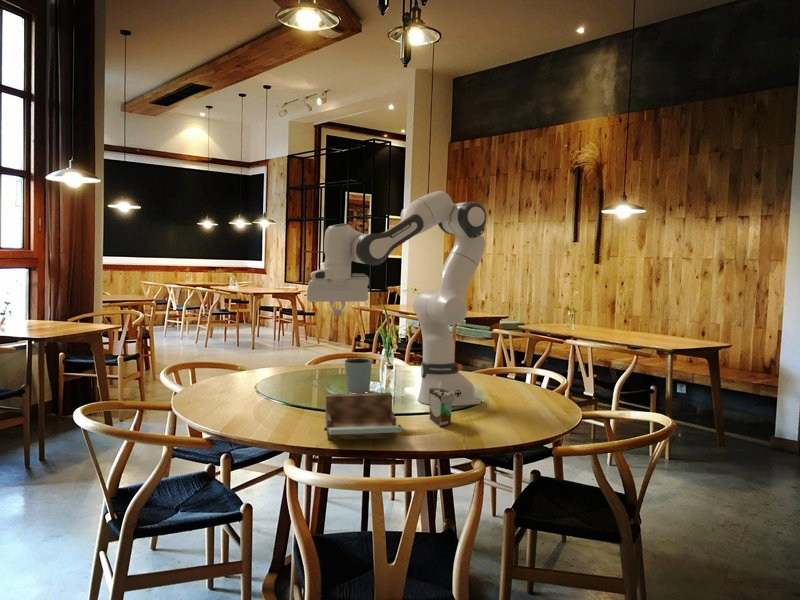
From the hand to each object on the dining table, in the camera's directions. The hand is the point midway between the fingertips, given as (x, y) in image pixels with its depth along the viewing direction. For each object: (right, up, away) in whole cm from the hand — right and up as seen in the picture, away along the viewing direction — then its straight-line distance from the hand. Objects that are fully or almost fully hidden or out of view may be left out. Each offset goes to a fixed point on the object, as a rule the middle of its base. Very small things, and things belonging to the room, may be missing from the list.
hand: (337, 315), depth 216 cm
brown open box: (+9, -34, -21) cm, 41 cm away
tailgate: (+10, -32, -28) cm, 44 cm away
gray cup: (+5, -30, +31) cm, 43 cm away
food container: (+34, -34, -10) cm, 49 cm away
